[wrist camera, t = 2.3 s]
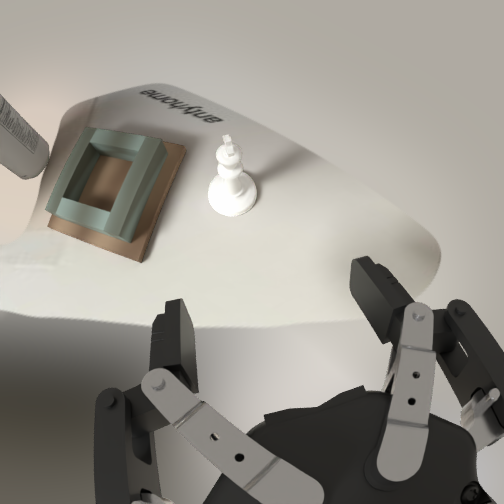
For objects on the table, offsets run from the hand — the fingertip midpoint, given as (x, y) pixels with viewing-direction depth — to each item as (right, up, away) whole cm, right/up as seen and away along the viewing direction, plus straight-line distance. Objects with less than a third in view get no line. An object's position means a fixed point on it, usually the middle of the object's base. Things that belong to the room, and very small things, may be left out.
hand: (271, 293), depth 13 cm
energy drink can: (-30, +14, +16) cm, 37 cm away
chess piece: (-3, +8, +16) cm, 18 cm away
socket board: (-16, +9, +16) cm, 24 cm away
